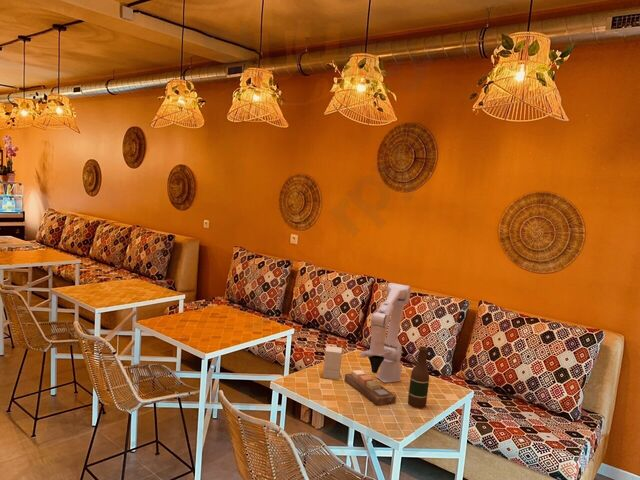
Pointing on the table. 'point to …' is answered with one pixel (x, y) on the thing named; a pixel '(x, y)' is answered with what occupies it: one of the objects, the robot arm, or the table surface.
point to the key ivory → (358, 374)
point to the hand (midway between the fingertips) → (374, 372)
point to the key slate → (381, 393)
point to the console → (370, 392)
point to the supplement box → (332, 362)
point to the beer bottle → (419, 381)
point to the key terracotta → (365, 379)
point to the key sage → (373, 385)
